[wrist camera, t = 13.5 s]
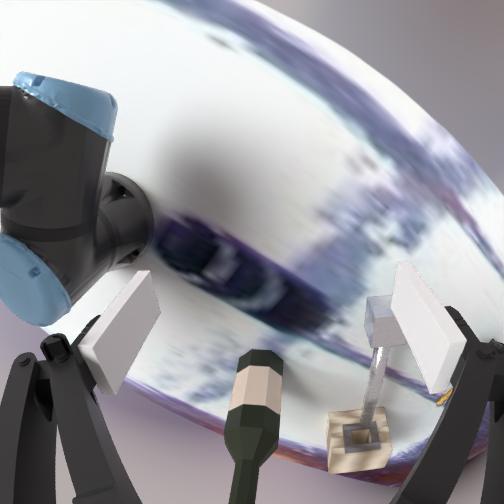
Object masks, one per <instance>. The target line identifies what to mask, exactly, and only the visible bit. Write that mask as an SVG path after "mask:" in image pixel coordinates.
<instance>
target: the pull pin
mask: <svg viewBox="0 0 504 504" xmlns="http://www.w3.org/2000/svg"><path fill="white" fill-rule="evenodd" d="M391 301H392V295H387V296H374V297H367V305H366V315H365V324H364V327H365V330H366V333H367V337H368V340H369V343H370V347H371V348H374V351H373V357H372V363H371V368H370V374H369V379H368V384H367V389H366V393H365V398H364V403H363V407H362V411H361V416H360V420H359V421H360V423H361V424H362V425H365V426H367V425H370V424H371V423H372V420H373V416H374V413H375V409H376V406H377V402H378V398H379V394H380V390H381V386H382V382H383V378H384V374H385V369H386V365H387V360H388V356H389V351H390V346H395V345H403V344H405V343H406V338H405V336H404V334H403V332H402V329H401V327H400V325H399V323H398V321H397V319H396V317H395V315H394V313H393V311H392V309H391Z"/></svg>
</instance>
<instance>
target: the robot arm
mask: <svg viewBox="0 0 504 504" xmlns="http://www.w3.org/2000/svg"><path fill="white" fill-rule="evenodd" d="M13 84H14V86H0V218H1V230H0V299H1V300H2V302H3V303H4V304H5V305H6V306H7V307H8V308H9V310H11V311H12V312H13V313H14V314H15V315H16V316H17V317H19V318H20V319H22V320H23V321H25V322H27V323H29V324H32V325H35V326H40V327H45V326H48V325H52V324H54V323H55V322H56V321H57V320H59V319H60V318H61V317H62V316H64V315H65V314H67V313H69V311H70V310H71V308H72V306H73V305H74V304H75V303H76V302H77V301H78V300H79V299H80V298H81V297H82V296H83V295H84V294H85V293H86V292H87V291H88V290H89V289H90V288H91V287H92V286H93V285H94V284H95V283H96V282H97V281H98V280H99V279H100V278H101V277H102V276H103V275H104V274H105V273H106V272H109V271H113V270H116V269H120V268H123V267H126V266H128V265H130V264H132V263H133V262H135V261H136V260H137V259H138V258H139V257H140V256H141V255H142V254H143V253H144V252H145V251H146V249H147V248H148V246H149V244H150V241H151V238H152V234H153V216H152V211H151V208H150V205H149V202H148V200H147V198H146V197H145V195H144V193H143V192H142V191H141V189H140V188H139V187H138V186H137V185H136V184H135V183H134V182H133V181H131V180H130V179H129V178H127V177H125V176H123V175H121V174H117V173H113V172H105V170H106V165H107V161H108V156H109V151H110V147H111V142H113V140H114V137H113V130H114V125H115V120H116V115H117V110H118V107H117V102H116V100H115V98H114V97H113V96H112V95H111V94H109V93H107V92H105V91H101V90H98V89H94V88H91V87H87V86H84V85H80V84H76V83H72V82H68V81H64V80H60V79H55V78H51V77H46V76H41V75H37V74H32V73H27V72H19V73H18V74H17V76H16V77H15V79H14V80H13ZM391 309H392V311H393V313H394V315H395V317H396V319H397V321H398V323H399V325H400V327H401V329H402V332H403V334H404V336H405V338H406V340H407V342H408V344H409V347H410V349H411V351H412V353H413V355H414V358H415V360H416V362H417V364H418V367H419V369H420V371H421V374H422V376H423V378H424V381H425V383H426V385H427V388H428V390H429V393H430V394H434V393H439V392H444V391H446V389H447V387H448V385H449V383H450V382H451V384H452V386H453V390H452V392H451V394H450V396H449V398H448V400H447V402H446V404H445V405H446V406H445V408H444V410H443V412H442V414H441V416H440V419H439V421H438V423H437V425H436V427H435V429H434V431H433V433H432V435H431V436H430V438H429V440H428V442H427V444H426V446H425V448H424V449H423V451H422V453H421V455H420V457H419V458H418V460H417V462H416V463H415V465H414V467H413V468H412V470H411V472H410V473H409V475H408V477H407V478H406V480H405V481H404V483H403V484H402V486H401V487H400V489H399V490H398V492H397V494H396V495H395V496H394V498H393V499H392V501H391V502H390V503H389V504H446V503H447V501H448V499H449V497H450V495H451V493H452V491H453V489H454V487H455V485H456V483H457V481H458V479H459V477H460V474H461V472H462V470H463V468H464V465H465V463H466V461H467V458H468V456H469V454H470V451H471V448H472V446H473V443H474V441H475V438H476V435H477V432H478V430H479V427H480V424H481V421H482V418H483V415H484V411H485V408H486V405H487V401H490V421H489V440H488V453H487V463H486V471H485V479H484V486H483V491H482V497H481V503H480V504H504V354H498V352H497V350H496V349H495V348H494V347H493V346H492V345H490V344H488V343H484V342H480V341H479V340H478V338H477V337H476V335H475V334H474V333H473V331H472V330H471V328H470V327H469V325H467V323H466V321H465V320H463V317H462V316H461V314H460V313H459V312H458V311H457V310H455V309H454V308H453V307H451V306H446V307H444V306H443V305H442V303H441V302H440V301H439V299H438V298H437V296H436V295H435V294H434V292H433V291H432V290H431V288H430V287H429V286H428V284H427V283H426V282H425V280H424V279H423V278H422V276H421V275H420V274H419V273H418V271H417V270H416V269H415V267H414V266H413V265H412V264H411V262H397V268H396V275H395V282H394V289H393V295H392V301H391ZM160 313H161V312H160V308H159V304H158V300H157V296H156V292H155V288H154V284H153V280H152V275H151V271H137V273H136V274H135V275H134V276H133V277H132V279H131V280H130V281H129V282H128V283H127V284H126V286H125V287H124V288H123V289H122V290H121V292H120V293H119V294H118V295H117V297H116V298H115V299H114V300H113V301H112V303H111V304H110V305H109V306H108V308H107V309H106V310H105V311H104V313H103V314H102V315H98V316H96V317H95V318H93V319H92V320H90V322H89V323H88V324H87V325H86V327H85V328H84V329H83V330H82V332H81V333H80V334H79V335H78V337H77V338H76V339H75V340H74V342H73V343H72V344H71V346H70V344H69V342H68V340H67V338H66V336H65V335H64V334H61V333H57V334H52V335H50V336H48V337H47V338H46V339H44V340H43V341H42V343H41V345H40V348H41V350H42V352H43V354H44V356H45V357H46V360H43V361H38V360H37V358H36V356H35V355H34V354H33V353H31V352H30V353H29V352H27V353H23V354H21V355H19V356H18V357H17V358H16V359H15V360H14V362H13V365H12V368H11V371H10V374H9V377H8V380H7V384H6V388H5V390H4V394H3V398H2V401H1V405H0V504H56V493H55V492H56V490H55V455H56V433H57V425H58V429H59V434H60V438H61V443H62V447H63V451H64V455H65V459H66V462H67V466H68V469H69V473H70V476H71V479H72V483H73V486H74V489H75V492H76V497H75V498H73V500H72V502H73V504H142V502H141V500H140V498H139V496H138V495H137V493H136V491H135V489H134V487H133V485H132V483H131V481H130V479H129V477H128V475H127V473H126V470H125V468H124V466H123V464H122V462H121V459H120V457H119V455H118V453H117V450H116V448H115V445H114V443H113V441H112V438H111V436H110V433H109V431H108V428H107V426H106V423H105V420H104V418H103V415H102V412H101V410H100V406H99V404H98V401H97V398H96V395H95V393H94V391H93V389H94V387H95V385H96V384H97V386H98V388H99V390H100V392H101V393H104V394H109V395H114V396H115V395H116V393H117V392H118V390H119V388H120V386H121V384H122V382H123V380H124V378H125V376H126V375H127V373H128V371H129V369H130V367H131V365H132V363H133V362H134V360H135V358H136V356H137V354H138V352H139V351H140V349H141V347H142V345H143V343H144V342H145V340H146V338H147V336H148V334H149V333H150V331H151V329H152V327H153V325H154V324H155V322H156V320H157V318H158V317H159V315H160Z"/></svg>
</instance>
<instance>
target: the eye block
mask: <svg viewBox="0 0 504 504" xmlns="http://www.w3.org/2000/svg"><path fill="white" fill-rule="evenodd" d="M361 411H362V410H352V411H341V412H329V415H328V424H327V432H326V434H327V452H328V473H329V474H333V473H345V472H354V471H362V470H370V469H376V468H383V467H385V465H386V463H387V461H388V459H389V457H390V455H391V453H392V451H393V447H392V442H391V437H390V433H389V428H388V424H387V419H386V415H385V411H384V407H378V408H376V409H375V413H374V416H373V420H372V423H371V424H370V425H367V426H365V425H362V424H361V423H360V421H359V420H360V416H361Z"/></svg>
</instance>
